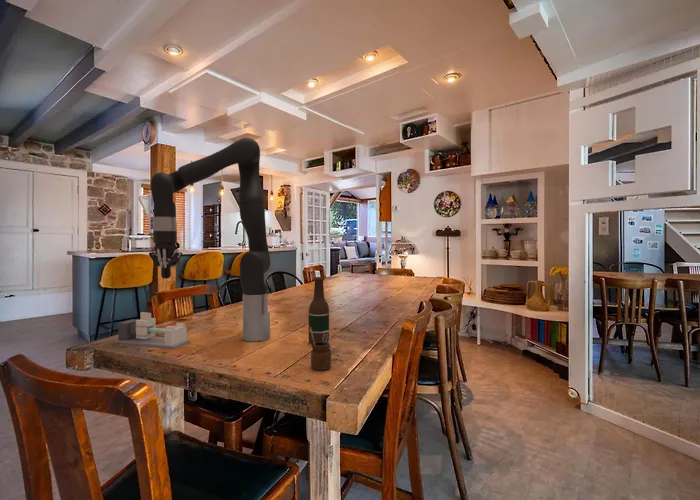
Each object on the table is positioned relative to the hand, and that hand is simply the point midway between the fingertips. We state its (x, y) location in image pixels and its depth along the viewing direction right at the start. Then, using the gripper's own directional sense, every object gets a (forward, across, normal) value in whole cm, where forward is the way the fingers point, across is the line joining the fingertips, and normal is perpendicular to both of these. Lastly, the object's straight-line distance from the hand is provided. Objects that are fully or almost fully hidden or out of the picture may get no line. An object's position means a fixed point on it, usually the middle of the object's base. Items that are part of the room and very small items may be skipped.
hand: (165, 278), depth 124 cm
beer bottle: (+24, -52, -16) cm, 60 cm away
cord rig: (+24, +6, 0) cm, 24 cm away
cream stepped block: (+22, +9, 0) cm, 23 cm away
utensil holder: (+24, -61, +7) cm, 66 cm away
